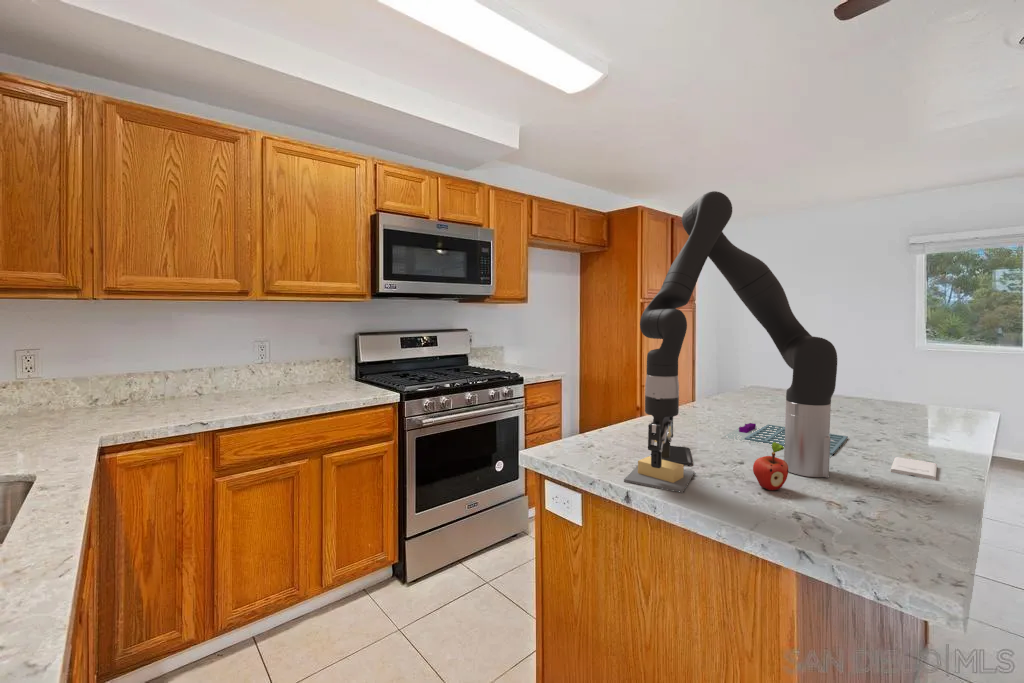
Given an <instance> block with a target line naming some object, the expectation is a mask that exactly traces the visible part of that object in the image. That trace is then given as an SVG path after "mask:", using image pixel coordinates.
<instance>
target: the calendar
mask: <svg viewBox="0 0 1024 683" xmlns="http://www.w3.org/2000/svg"><path fill="white" fill-rule="evenodd" d="M756 424H757V423H753V422H748V423H744V425H742V426H739V427H738V428H736V429H734V430H733V431H730V432H728V433H727V434H725V435H724V436H723V437H726V436H728V438H729V439H734V436H735V439H736V440H738V439H737V436H738V435H740V436H742V437H741V439H739V440H740V441H742V440H750V441H752V442H751V443H756V442H757V444H758V443H759V442H763V443H769V444H772V443H773V442H779V444H780V445H781V446H784V443H785V439H784V438H785V436H782V435H785V426H781V425H774V424H766V426H764V427H762V428H761V429H759V428H758V429H759V430H757V426H756ZM769 426H772V427H769ZM775 427H776V428H775ZM767 428H770V429H767ZM781 428H782V429H781ZM774 429H777V430H774ZM756 430H757V431H756ZM766 430H769V431H766ZM752 431H753V433H752ZM754 431H755V432H754ZM773 431H776V432H773ZM763 432H767V433H763ZM781 432H782V433H781ZM769 433H774V434H769ZM731 434H732V435H731ZM734 434H735V435H734ZM737 434H738V435H737ZM759 434H763V435H759ZM778 434H780V435H778ZM765 435H771V436H765ZM740 436H739V437H740ZM756 436H759V437H756ZM775 436H776V437H775ZM739 437H738V438H739ZM764 437H766V438H764ZM778 437H782V438H778ZM752 438H755V439H752ZM847 438H848V435H847V436H846V435H840V434H835V433H830V459H831V458H832V457H833V456H834V455H835V454H834V453H837V452H838V450H839V449H840V448H841V447H842V446H843V445H844V443H845V442H847V440H848V439H847ZM729 439H728V440H729ZM758 439H761V440H758ZM774 439H778V440H774ZM846 439H847V440H846ZM780 440H784V441H780ZM754 441H755V442H754ZM770 441H773V442H770ZM759 444H761V443H759ZM841 445H842V446H841ZM840 446H841V447H840ZM839 447H840V448H839ZM833 454H834V455H833ZM832 455H833V456H832Z"/></svg>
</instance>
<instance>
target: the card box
mask: <svg viewBox="0 0 1024 683" xmlns="http://www.w3.org/2000/svg"><path fill="white" fill-rule="evenodd" d="M637 466H638V473H639V474H643V475H647V476H650V477H654V478H658V479H661V480H665V481H668V482H672V483H674V482H676V481H678V480H679V479H681V478H683V474H684V470H685V469H684V468H685V466H684V465H683V464H678V463H674V462H670V461H666V460H662V466H661V468H654V467H652V466H651V456H650V455H649V456H646V457H643V458H641V459H638V460H637Z"/></svg>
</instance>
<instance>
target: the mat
mask: <svg viewBox="0 0 1024 683" xmlns="http://www.w3.org/2000/svg"><path fill="white" fill-rule="evenodd" d="M694 473H695V471H693V470H689V469H688V470H687V469H684V474H683V478H681V479H679V480H678V481H676V482H674V483H672V482H668V481H665V480H661V479H658V478H654V477H650V476H647V475H643V474H639V473H638V465H637V466H636V467H635V468H634V469H633V470H632V471H631V472H629V474H628V475H627V476H626V477H624V479H623V482H624V483H628V482H632V483H631V484H633V483H637V484H636V485H638V484H642V485H641V486H643V485H646V486H645V487H649V486H653V487H652V488H654V487H657V488H656V489H659V488H663V489H662V490H664V489H668V490H667V491H670V490H674V491H673V492H675V491H680V492H683V491H685V490H686V489H685V487H686V486H687V487H688V485H689V484H690V482H691V480H692V479H693V478H694V477H693V475H695V474H696V473H695V474H694ZM691 478H692V479H691ZM689 481H690V482H689ZM688 483H689V484H688ZM687 484H688V485H687ZM687 487H686V488H687ZM684 489H685V490H684ZM680 492H679V493H680ZM683 493H684V492H683Z"/></svg>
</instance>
